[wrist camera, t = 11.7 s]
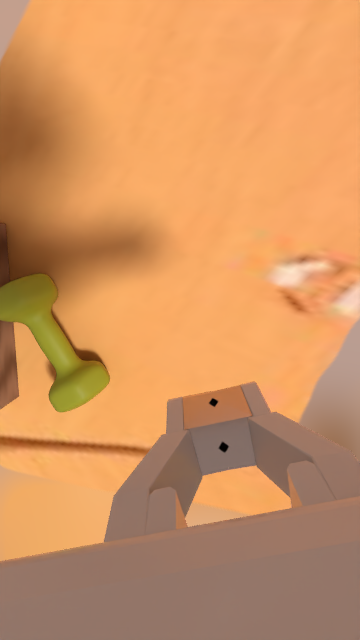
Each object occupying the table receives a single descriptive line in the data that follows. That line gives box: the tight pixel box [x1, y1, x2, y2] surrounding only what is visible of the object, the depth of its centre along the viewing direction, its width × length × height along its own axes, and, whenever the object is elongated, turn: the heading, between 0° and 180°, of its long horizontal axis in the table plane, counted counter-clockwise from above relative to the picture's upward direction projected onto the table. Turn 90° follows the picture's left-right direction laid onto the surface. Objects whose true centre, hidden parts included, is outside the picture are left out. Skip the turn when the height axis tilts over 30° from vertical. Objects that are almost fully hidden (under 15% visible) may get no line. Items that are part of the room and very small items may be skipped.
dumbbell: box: [0, 274, 110, 412], centre depth 34 cm, size 16×8×7 cm, turn 28°
